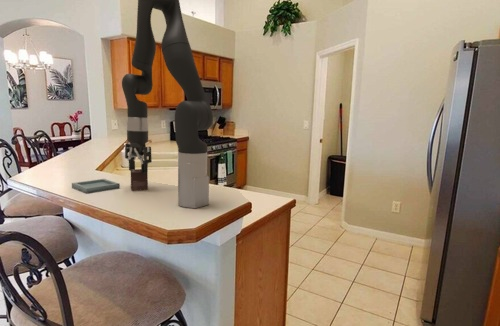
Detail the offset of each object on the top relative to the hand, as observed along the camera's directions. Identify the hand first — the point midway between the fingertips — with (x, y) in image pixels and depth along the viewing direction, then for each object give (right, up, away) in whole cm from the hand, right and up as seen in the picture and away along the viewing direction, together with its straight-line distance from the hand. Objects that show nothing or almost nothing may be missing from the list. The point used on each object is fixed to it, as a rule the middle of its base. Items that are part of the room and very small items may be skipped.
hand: (138, 172), depth 120 cm
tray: (-16, -6, 0) cm, 17 cm away
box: (0, -7, +1) cm, 7 cm away
